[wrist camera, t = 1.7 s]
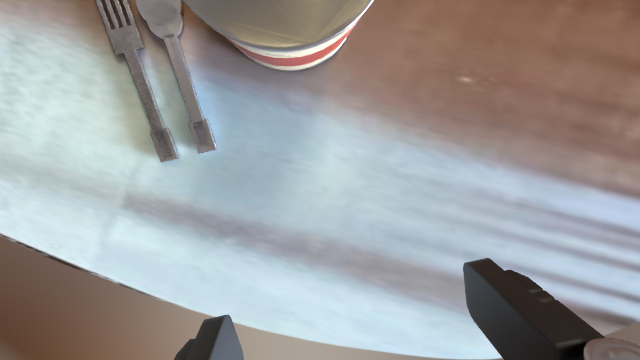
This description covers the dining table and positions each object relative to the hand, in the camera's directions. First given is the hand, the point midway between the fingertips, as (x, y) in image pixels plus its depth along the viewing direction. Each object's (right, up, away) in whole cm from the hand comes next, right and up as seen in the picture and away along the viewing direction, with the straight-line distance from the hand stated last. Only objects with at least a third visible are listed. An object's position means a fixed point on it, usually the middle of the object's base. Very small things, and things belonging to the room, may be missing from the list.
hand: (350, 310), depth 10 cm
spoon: (-14, +15, +19) cm, 28 cm away
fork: (-18, +14, +19) cm, 30 cm away
